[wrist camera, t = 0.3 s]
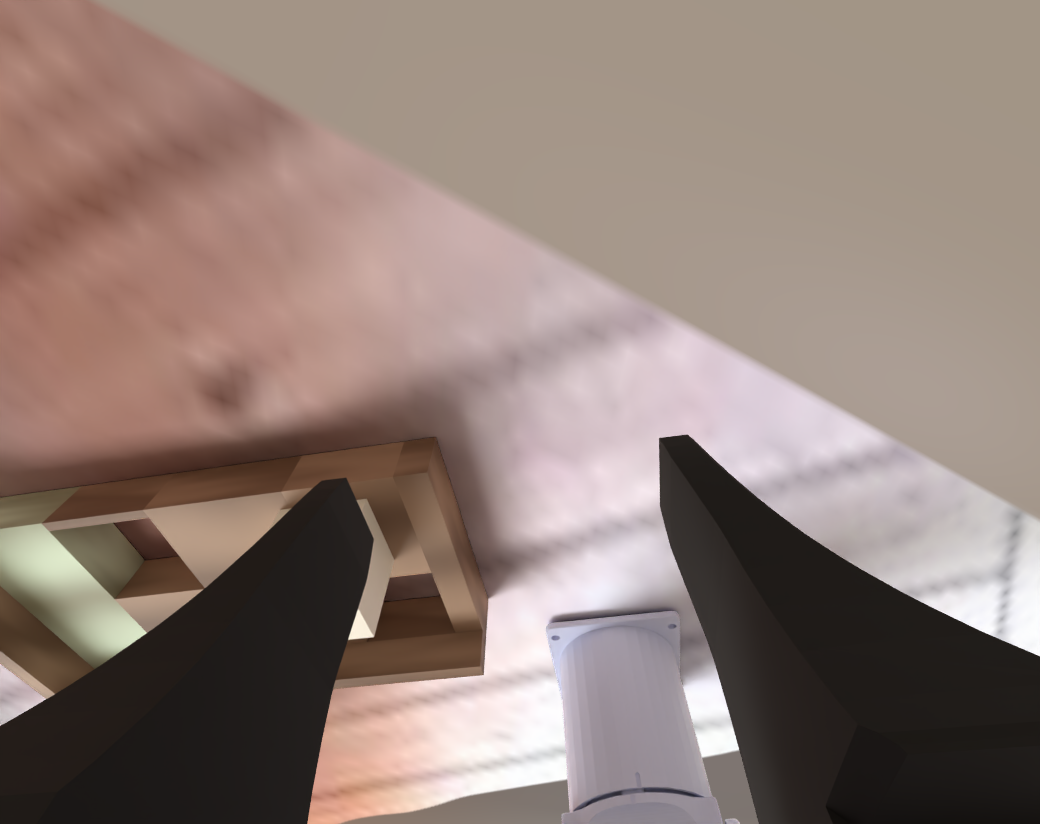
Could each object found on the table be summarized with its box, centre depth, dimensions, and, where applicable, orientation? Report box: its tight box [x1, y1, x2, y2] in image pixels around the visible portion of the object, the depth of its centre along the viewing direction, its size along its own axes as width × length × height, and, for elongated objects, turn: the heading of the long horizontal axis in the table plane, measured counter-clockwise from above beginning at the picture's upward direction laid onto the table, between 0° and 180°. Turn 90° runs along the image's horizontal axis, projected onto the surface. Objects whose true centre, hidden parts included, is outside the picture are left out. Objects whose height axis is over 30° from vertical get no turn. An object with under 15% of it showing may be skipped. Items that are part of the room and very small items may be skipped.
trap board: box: [0, 437, 488, 699], centre depth 26 cm, size 12×24×4 cm, turn 100°
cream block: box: [269, 499, 394, 640], centre depth 22 cm, size 4×4×4 cm
